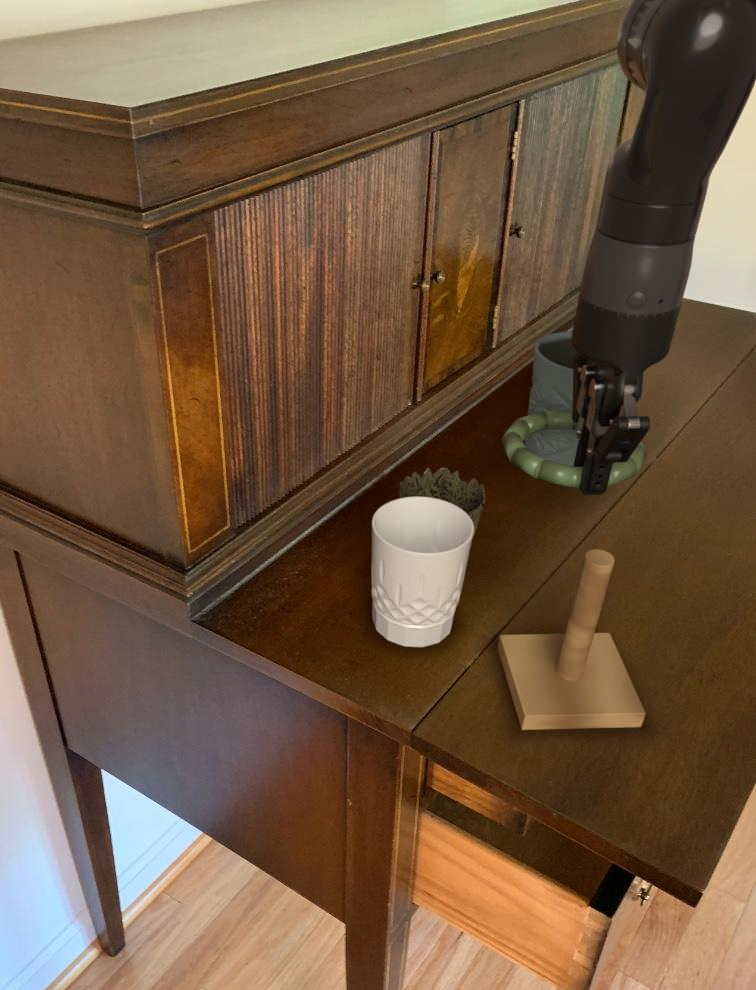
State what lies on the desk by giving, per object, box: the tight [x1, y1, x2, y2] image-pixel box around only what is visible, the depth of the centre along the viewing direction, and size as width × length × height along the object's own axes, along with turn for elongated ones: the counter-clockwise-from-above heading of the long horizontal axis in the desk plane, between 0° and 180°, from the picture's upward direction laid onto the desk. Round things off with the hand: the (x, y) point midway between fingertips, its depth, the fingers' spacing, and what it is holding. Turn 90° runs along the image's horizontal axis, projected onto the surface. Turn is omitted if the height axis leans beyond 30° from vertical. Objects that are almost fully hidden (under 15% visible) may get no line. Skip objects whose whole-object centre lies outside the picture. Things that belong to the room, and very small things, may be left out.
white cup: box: [370, 497, 474, 648], centre depth 74 cm, size 8×8×10 cm
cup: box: [398, 466, 487, 541], centre depth 81 cm, size 8×7×8 cm
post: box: [497, 548, 647, 731], centre depth 68 cm, size 9×9×12 cm
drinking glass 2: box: [524, 330, 580, 466], centre depth 95 cm, size 10×10×12 cm
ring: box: [501, 410, 648, 489], centre depth 84 cm, size 13×13×2 cm
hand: (588, 484), depth 81 cm, fingers closed on ring, 2 cm apart
